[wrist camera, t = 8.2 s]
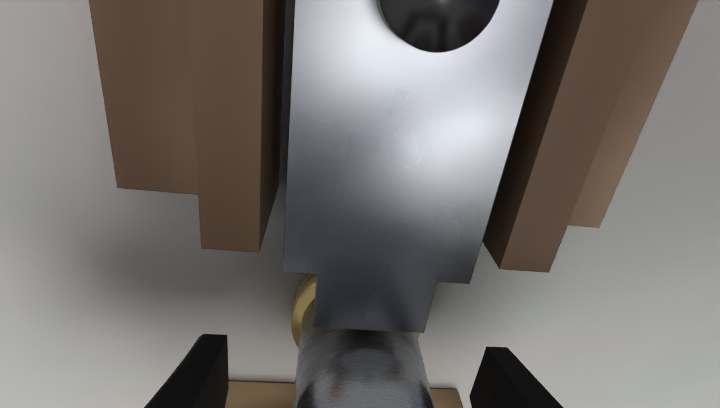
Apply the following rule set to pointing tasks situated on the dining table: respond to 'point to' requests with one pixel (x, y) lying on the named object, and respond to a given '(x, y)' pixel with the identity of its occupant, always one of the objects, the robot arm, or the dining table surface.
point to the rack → (275, 400)
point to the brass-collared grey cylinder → (354, 363)
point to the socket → (264, 102)
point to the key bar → (399, 147)
